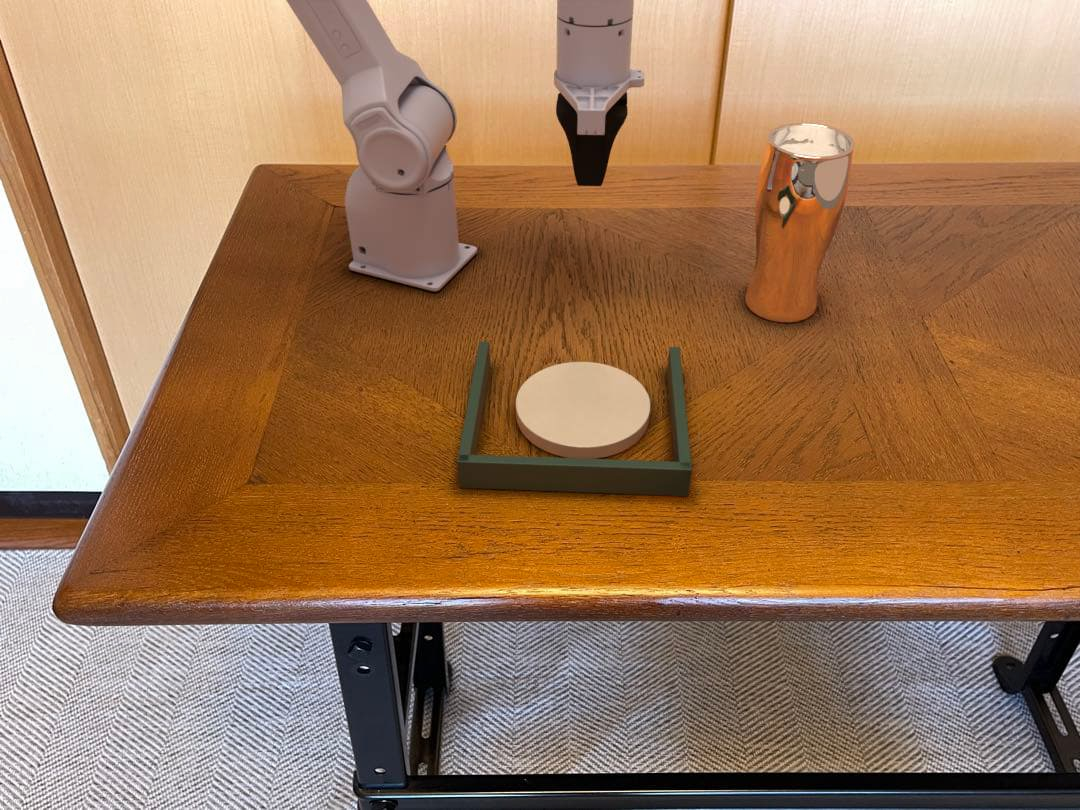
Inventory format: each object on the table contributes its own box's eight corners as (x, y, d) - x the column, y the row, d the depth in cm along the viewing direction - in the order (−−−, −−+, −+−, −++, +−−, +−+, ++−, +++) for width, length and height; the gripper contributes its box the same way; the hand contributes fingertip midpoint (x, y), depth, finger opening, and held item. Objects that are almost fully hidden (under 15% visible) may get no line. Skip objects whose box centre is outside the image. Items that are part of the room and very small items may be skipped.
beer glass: (822, 330, 78) (860, 162, 68) (738, 321, 79) (764, 154, 69) (820, 286, 83) (855, 124, 73) (741, 278, 84) (765, 118, 74)
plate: (495, 440, 67) (494, 428, 66) (542, 362, 74) (542, 350, 74) (628, 473, 64) (629, 460, 64) (664, 389, 72) (665, 377, 71)
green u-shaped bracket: (480, 366, 74) (479, 341, 72) (676, 372, 73) (679, 346, 72) (459, 488, 63) (456, 461, 62) (688, 496, 63) (692, 469, 61)
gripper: (651, 48, 64) (639, 225, 72) (645, -13, 75) (635, 147, 84) (549, 47, 64) (549, 223, 73) (558, -14, 75) (557, 145, 84)
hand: (589, 182), depth 78 cm, fingers closed
